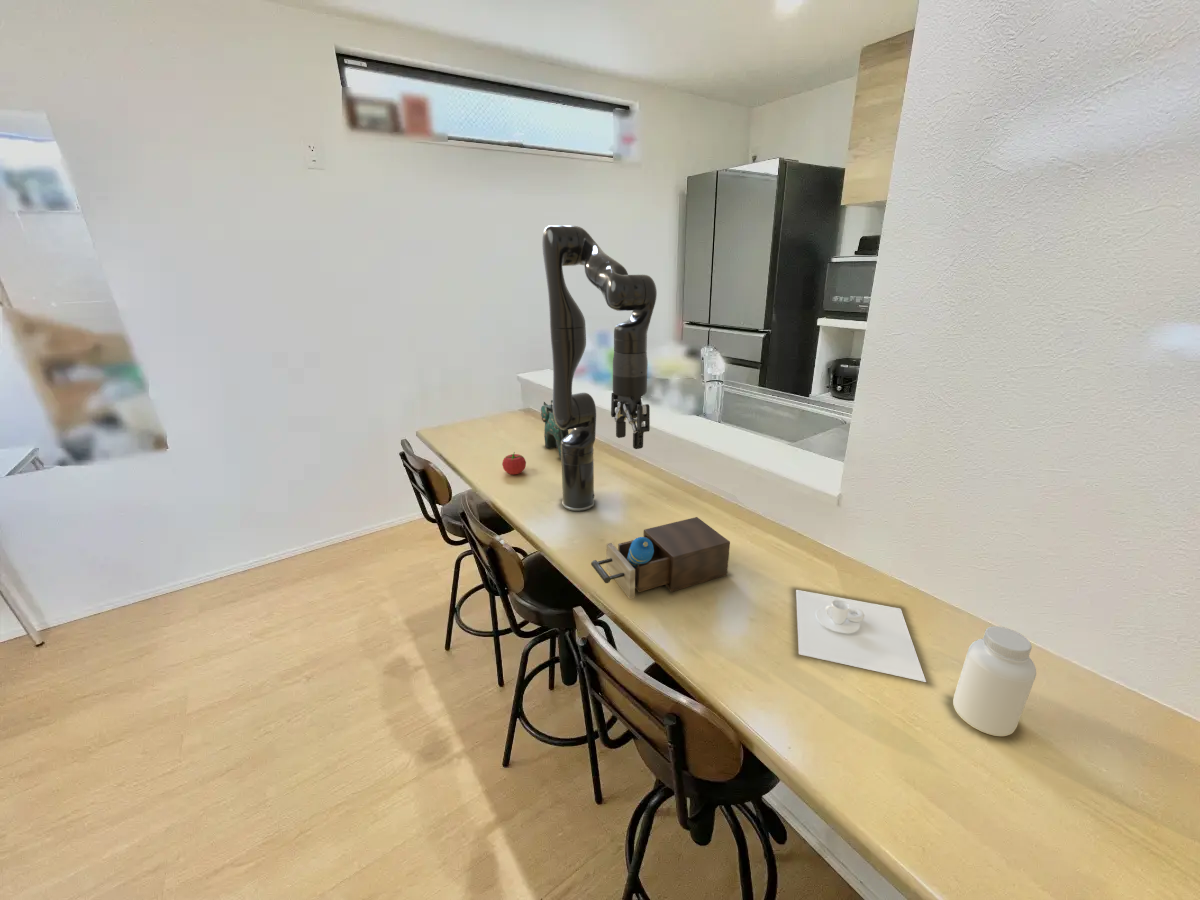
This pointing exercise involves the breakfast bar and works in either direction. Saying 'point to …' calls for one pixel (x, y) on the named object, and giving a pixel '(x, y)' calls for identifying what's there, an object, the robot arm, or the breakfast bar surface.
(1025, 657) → the pill bottle
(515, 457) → the tomato
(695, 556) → the cabinet
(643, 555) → the ornament
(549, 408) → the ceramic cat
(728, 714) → the breakfast bar surface
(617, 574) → the drawer
